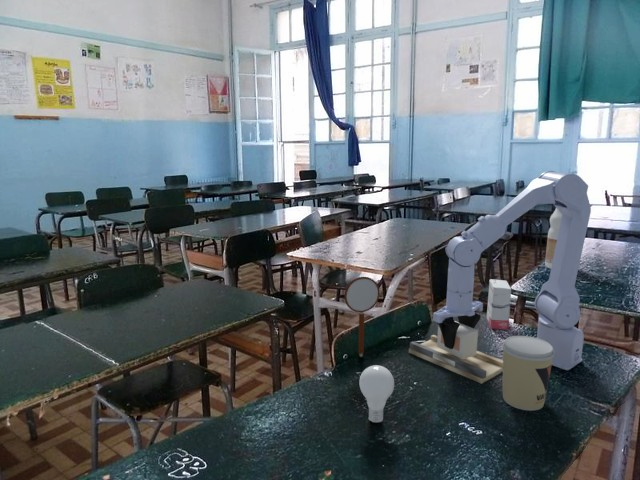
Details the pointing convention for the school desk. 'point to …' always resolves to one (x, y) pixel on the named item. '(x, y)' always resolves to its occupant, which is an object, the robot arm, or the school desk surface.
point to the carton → (461, 342)
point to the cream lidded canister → (526, 371)
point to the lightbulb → (376, 390)
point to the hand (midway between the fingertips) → (456, 344)
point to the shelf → (459, 361)
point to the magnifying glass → (361, 301)
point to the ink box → (498, 304)
